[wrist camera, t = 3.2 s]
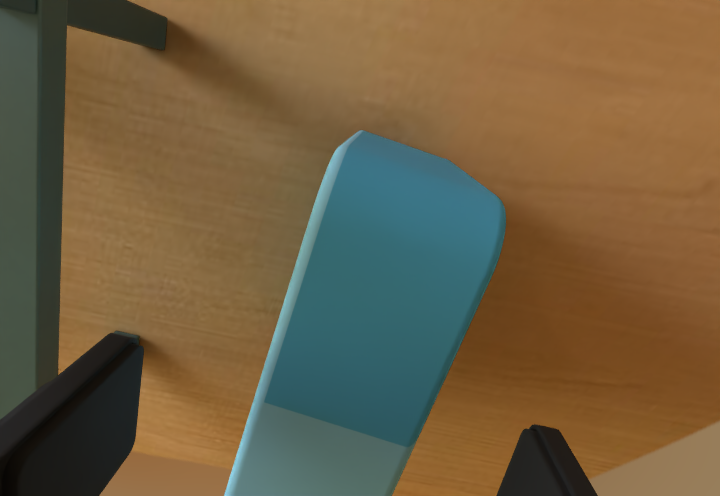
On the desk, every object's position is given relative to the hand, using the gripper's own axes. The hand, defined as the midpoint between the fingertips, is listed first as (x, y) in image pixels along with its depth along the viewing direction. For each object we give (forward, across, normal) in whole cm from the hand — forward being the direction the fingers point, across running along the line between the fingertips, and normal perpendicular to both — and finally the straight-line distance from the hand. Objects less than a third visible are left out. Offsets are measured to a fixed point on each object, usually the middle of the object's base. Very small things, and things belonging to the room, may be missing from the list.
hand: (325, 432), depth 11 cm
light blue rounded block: (+13, 0, 0) cm, 13 cm away
